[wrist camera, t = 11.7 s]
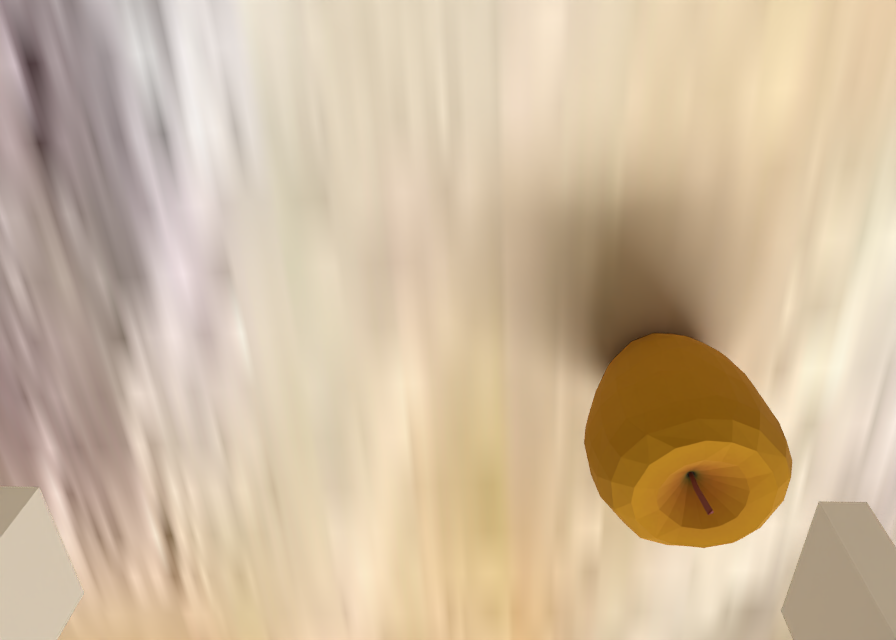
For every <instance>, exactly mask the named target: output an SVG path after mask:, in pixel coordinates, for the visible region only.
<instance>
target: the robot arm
mask: <svg viewBox="0 0 896 640" xmlns="http://www.w3.org/2000/svg"><path fill="white" fill-rule="evenodd" d="M83 594H84V591H83V589H82V586H81V584H80V582H79V579H78V577H77V575H76V572H75V570H74V568H73V565H72V563H71V561H70V558H69V556H68V554H67V551H66V549H65V547H64V544H63V542H62V539H61V537H60V535H59V532H58V530H57V528H56V525H55V523H54V521H53V518H52V516H51V514H50V511H49V509H48V507H47V504H46V502H45V500H44V497H43V495H42V493H41V490H40V488H39V487H9V486H0V640H57V639H58V637H59V636H60V634H61V632H62V631H63V629H64V627H65V625H66V624H67V622H68V620H69V619H70V617H71V615H72V613H73V612H74V610H75V608H76V606H77V605H78V603H79V601H80V600H81V598H82V596H83ZM781 612H782V614H783V617H784V619H785V621H786V624H787V626H788V629H789V631H790V633H791V636H792V638H793V640H896V547H895V545H894V544H893V542H892V541H891V539H890V538H889V536H888V534H887V533H886V531H885V530H884V528H883V527H882V525H881V523H880V522H879V520H878V519H877V517H876V516H875V514H874V513H873V511H872V509H871V508H870V506H869V505H868V503H867V502H819V503H818V505H817V508H816V511H815V514H814V517H813V520H812V523H811V526H810V529H809V532H808V534H807V537H806V540H805V543H804V546H803V549H802V552H801V555H800V558H799V560H798V563H797V566H796V569H795V572H794V575H793V578H792V581H791V584H790V586H789V589H788V592H787V595H786V598H785V601H784V604H783V607H782V610H781Z"/></svg>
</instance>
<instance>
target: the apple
mask: <svg viewBox="0 0 896 640" xmlns="http://www.w3.org/2000/svg"><path fill="white" fill-rule="evenodd" d="M584 444H585V449H586V453H587V458H588V462H589V467H590V472H591V475H592V478H593V480H594V482H595V485H596V487H597V490H598V492H599V494H600V497H601V498H602V499H603V500H604V501H605V502H606V503H607V504H608V505H609V507H610V508H611V509H612V510H613V511H614V512H615V513H616V514H617V515H618V517H619V518H620V519H621V520H622V521H623V522H624V523H625V524H626V525H627V526H628V527H629V528H630V529H631V530H632V531H634V532H635V533H636V534H637V535H638V536H639V537H640V538H643V539H647V540H650V541H654V542H658V543H662V544H666V545H679V546H692V547H702V548H705V547H711V546H717V545H723V544H728V543H733V542H735V541H738V540H740V539H742V538H743V537H745V536H747V535H748V534H750V533H752V532H754V531H755V530H757V529H759V528H760V527H761V526H762V525H763V524H764V523H765V522H766V520H767V519H768V518H769V517H770V516H771V515H772V513H773V512H774V511H775V510H776V509H777V508H778V506H779V505H780V504H781V503H782V502H783V501H784V498H785V494H786V491H787V488H788V485H789V482H790V478H791V471H792V458H791V455H790V451H789V448H788V444H787V441H786V438H785V436H784V433H783V431H782V429H781V426H780V424H779V422H778V420H777V419H776V417H775V416H774V415H773V413H772V412H771V410H770V409H769V407H768V406H767V404H766V403H765V401H764V400H763V398H762V397H761V396H760V394H759V393H758V391H757V390H756V388H755V387H754V385H753V384H752V383H751V381H750V380H749V379H748V377H747V376H746V375H745V373H743V372H742V371H741V370H740V369H739V368H738V367H737V366H736V365H735V364H734V363H732V362H731V361H730V360H729V359H728V358H727V357H726V356H725V355H723V354H722V353H720V352H719V351H717V350H715V349H714V348H712V347H710V346H708V345H706V344H704V343H702V342H700V341H698V340H695V339H693V338H690V337H688V336H682V335H677V334H664V333H652V334H650V335H647V336H644V337H642V338H639V339H637V340H634V341H632V342H631V343H630V344H629V345H627V346H626V347H625V348H624V349H623V350H622V351H621V352H620V353H619V354H618V355H617V356H616V357H615V358H614V359H613V360H612V361H611V363H610V364H609V365H608V367H607V369H606V371H605V373H604V376H603V378H602V380H601V382H600V384H599V386H598V388H597V390H596V393H595V396H594V399H593V403H592V406H591V409H590V413H589V416H588V420H587V424H586V429H585V440H584Z"/></svg>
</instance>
